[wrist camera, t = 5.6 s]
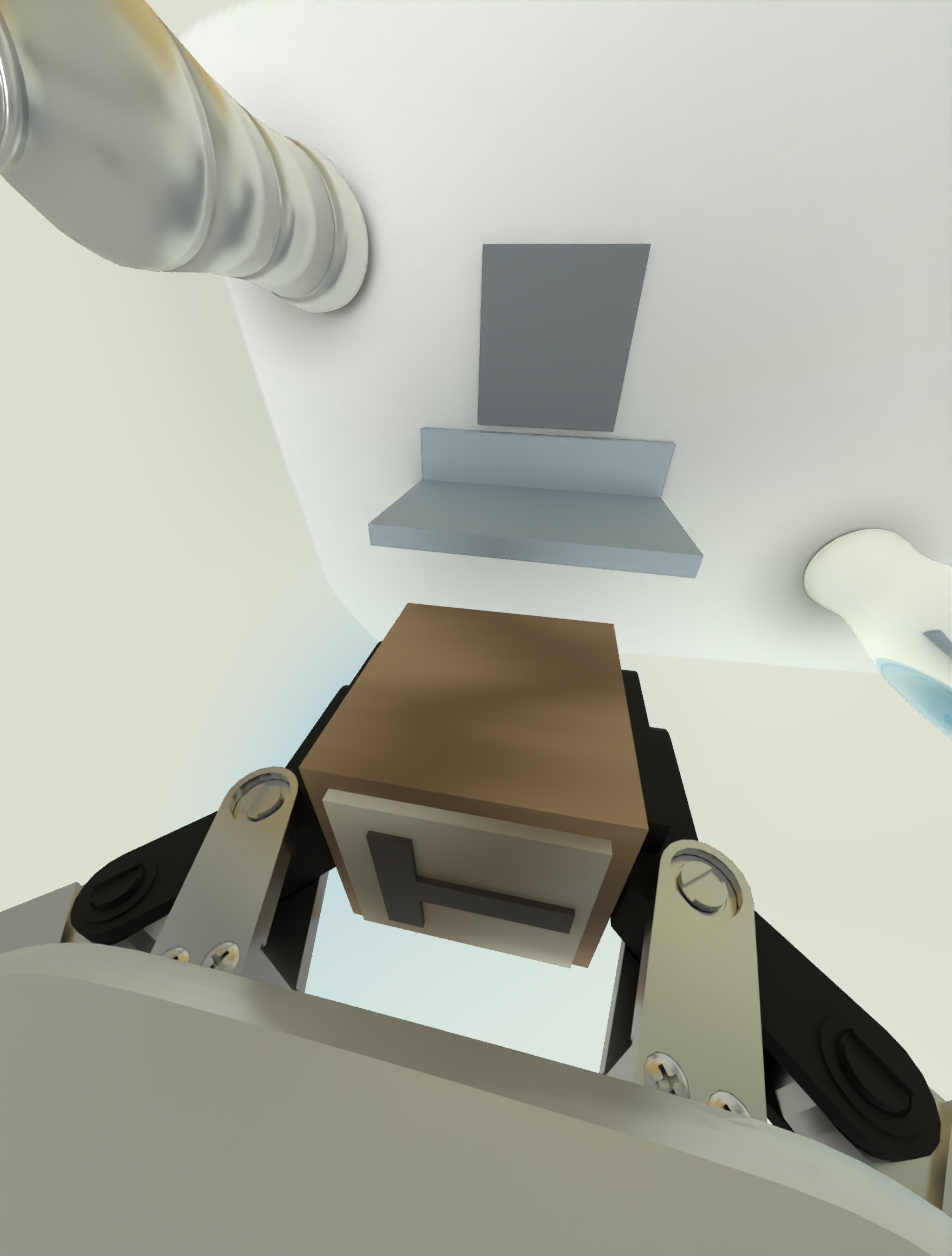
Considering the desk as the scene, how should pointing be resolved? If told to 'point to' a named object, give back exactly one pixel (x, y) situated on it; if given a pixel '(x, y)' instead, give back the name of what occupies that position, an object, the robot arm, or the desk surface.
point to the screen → (542, 502)
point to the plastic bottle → (165, 157)
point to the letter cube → (484, 782)
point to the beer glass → (893, 613)
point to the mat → (557, 332)
